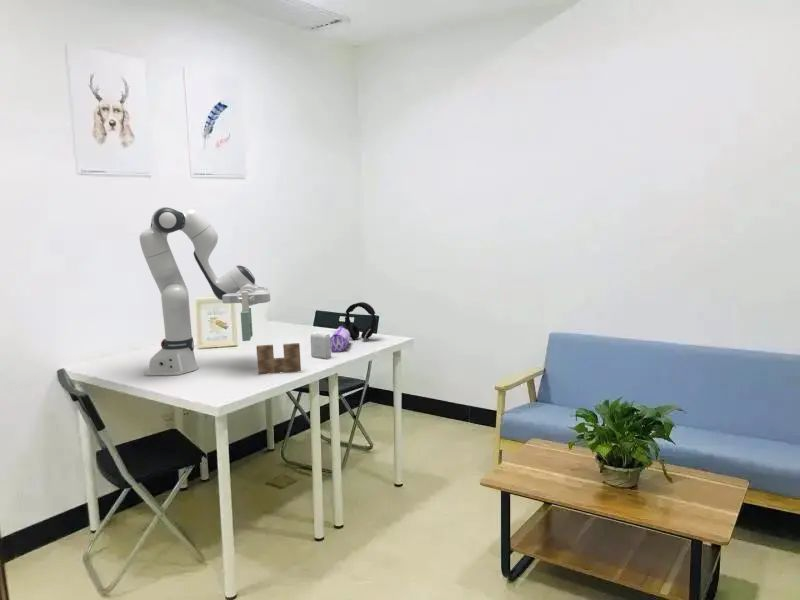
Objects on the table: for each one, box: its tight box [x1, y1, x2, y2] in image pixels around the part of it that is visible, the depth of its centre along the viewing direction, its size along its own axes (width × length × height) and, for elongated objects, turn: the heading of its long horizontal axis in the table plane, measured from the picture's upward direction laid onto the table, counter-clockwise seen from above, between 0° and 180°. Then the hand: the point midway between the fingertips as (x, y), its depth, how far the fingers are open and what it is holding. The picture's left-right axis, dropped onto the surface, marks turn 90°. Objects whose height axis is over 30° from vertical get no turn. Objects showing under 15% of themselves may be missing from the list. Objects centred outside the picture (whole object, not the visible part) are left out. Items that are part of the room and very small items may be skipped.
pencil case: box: [330, 325, 351, 353], centre depth 310 cm, size 22×9×10 cm, turn 1°
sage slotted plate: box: [240, 291, 253, 342], centre depth 264 cm, size 3×12×20 cm, turn 8°
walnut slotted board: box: [256, 342, 302, 375], centre depth 266 cm, size 18×2×12 cm, turn 98°
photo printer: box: [310, 330, 332, 359], centre depth 291 cm, size 10×4×12 cm, turn 56°
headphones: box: [344, 301, 377, 341], centre depth 325 cm, size 18×8×20 cm, turn 61°
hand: (244, 300), depth 262 cm, fingers closed on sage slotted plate, 2 cm apart
